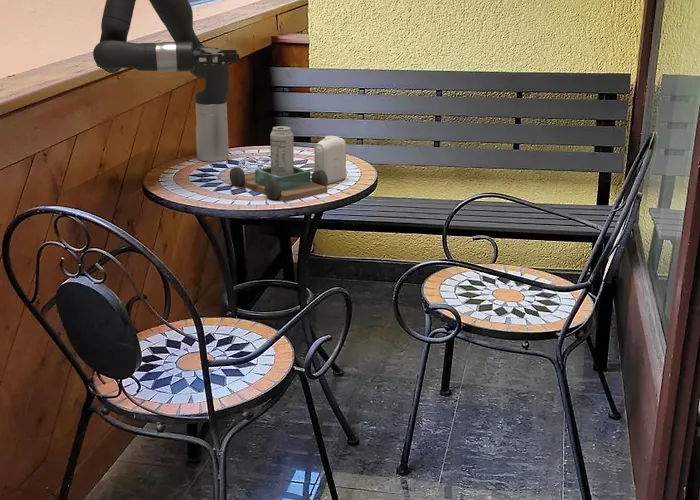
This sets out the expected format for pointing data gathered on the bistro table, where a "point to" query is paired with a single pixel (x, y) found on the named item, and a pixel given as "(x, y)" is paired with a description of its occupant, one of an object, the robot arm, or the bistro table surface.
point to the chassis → (282, 183)
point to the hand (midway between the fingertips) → (237, 56)
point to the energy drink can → (282, 151)
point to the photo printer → (331, 158)
